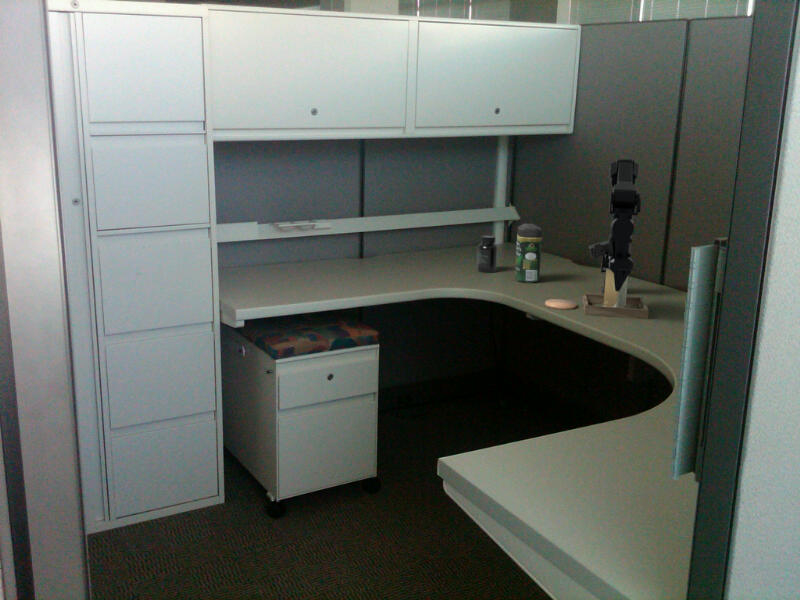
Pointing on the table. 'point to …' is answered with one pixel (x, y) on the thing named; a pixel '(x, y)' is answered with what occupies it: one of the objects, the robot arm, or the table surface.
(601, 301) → the brown wooden frame
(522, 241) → the coffee jar
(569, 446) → the table surface
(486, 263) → the supplement bottle
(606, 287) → the skincare box
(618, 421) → the table surface
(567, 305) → the peach flat disc
